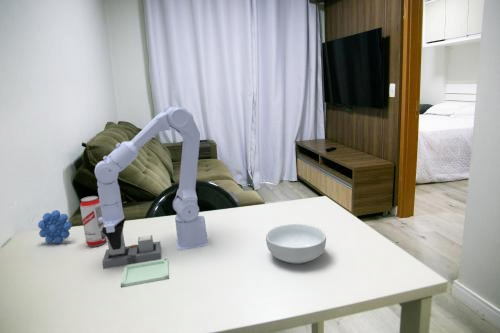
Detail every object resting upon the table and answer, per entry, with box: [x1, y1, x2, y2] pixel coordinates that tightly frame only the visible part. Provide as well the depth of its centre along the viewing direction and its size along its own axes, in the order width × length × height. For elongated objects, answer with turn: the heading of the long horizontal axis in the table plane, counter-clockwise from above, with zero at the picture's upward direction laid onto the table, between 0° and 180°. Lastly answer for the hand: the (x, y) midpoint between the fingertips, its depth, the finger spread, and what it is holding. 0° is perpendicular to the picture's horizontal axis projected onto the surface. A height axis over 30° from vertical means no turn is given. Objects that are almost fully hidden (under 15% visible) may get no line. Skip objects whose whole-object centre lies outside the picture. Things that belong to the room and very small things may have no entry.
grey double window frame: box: [101, 241, 162, 270], centre depth 103 cm, size 16×8×3 cm, turn 104°
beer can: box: [79, 195, 107, 248], centre depth 113 cm, size 6×6×16 cm
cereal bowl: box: [265, 223, 327, 265], centre depth 98 cm, size 17×17×7 cm
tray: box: [120, 258, 170, 288], centre depth 93 cm, size 12×10×1 cm
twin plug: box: [137, 234, 154, 254], centre depth 103 cm, size 4×4×6 cm
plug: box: [106, 229, 126, 255], centre depth 101 cm, size 4×4×6 cm
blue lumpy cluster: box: [38, 210, 73, 245], centre depth 117 cm, size 12×7×12 cm, turn 87°
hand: (117, 245), depth 101 cm, fingers closed on plug, 3 cm apart
